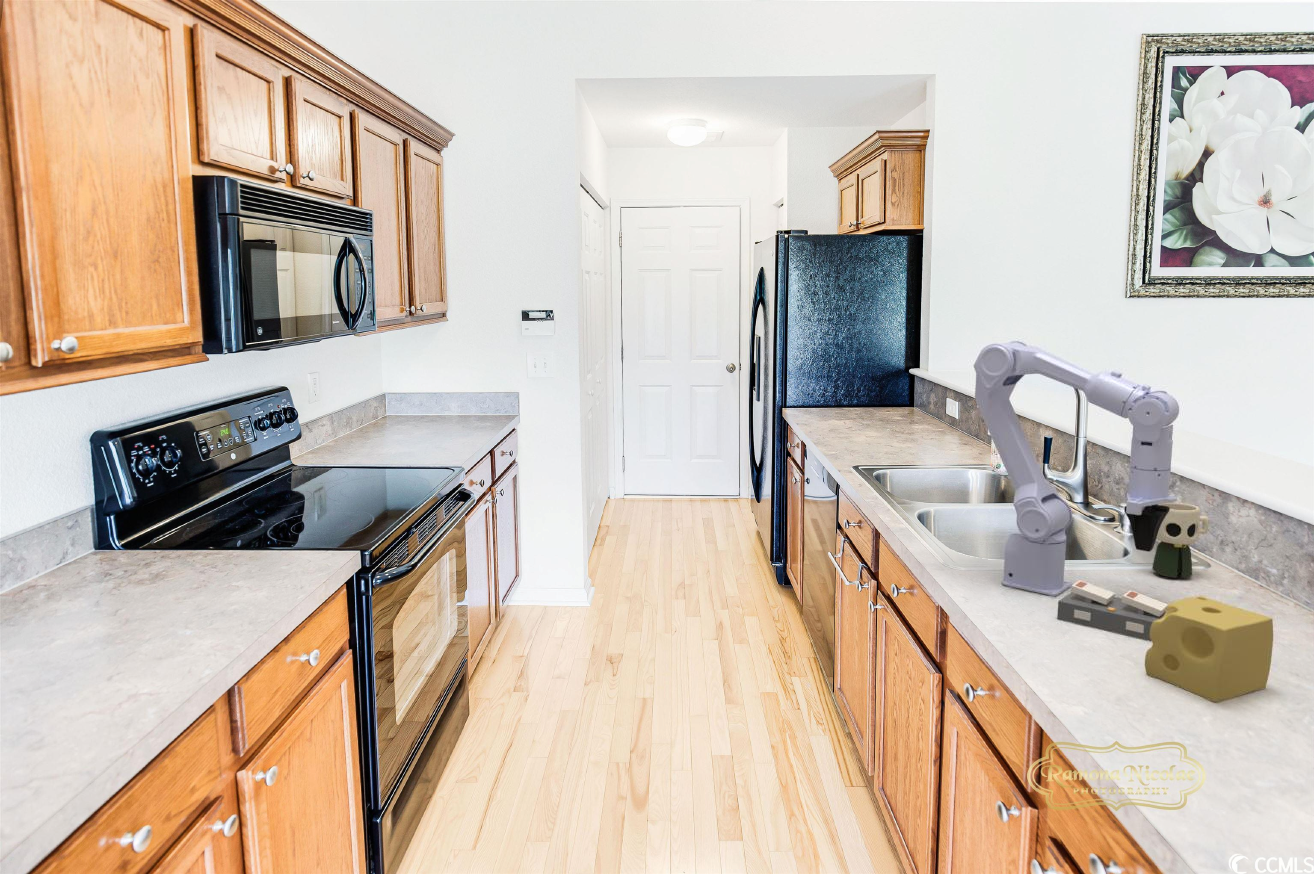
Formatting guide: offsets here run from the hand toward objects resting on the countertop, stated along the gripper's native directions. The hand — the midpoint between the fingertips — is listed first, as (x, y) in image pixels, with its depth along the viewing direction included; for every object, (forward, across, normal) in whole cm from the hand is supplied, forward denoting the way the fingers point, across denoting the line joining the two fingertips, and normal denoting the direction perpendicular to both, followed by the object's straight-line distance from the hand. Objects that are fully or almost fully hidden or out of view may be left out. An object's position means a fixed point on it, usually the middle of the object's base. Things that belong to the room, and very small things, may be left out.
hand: (1144, 549), depth 142 cm
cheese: (+10, -24, -15) cm, 30 cm away
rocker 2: (+6, -10, -3) cm, 12 cm away
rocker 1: (+6, -10, +4) cm, 12 cm away
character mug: (+10, +22, +1) cm, 24 cm away
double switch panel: (+10, -10, 0) cm, 14 cm away
